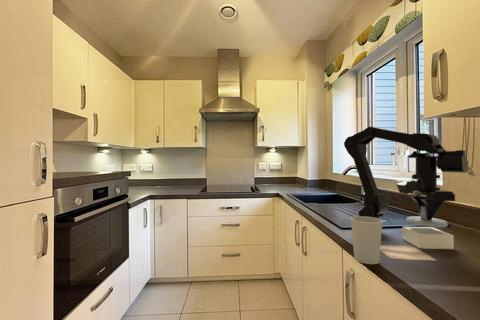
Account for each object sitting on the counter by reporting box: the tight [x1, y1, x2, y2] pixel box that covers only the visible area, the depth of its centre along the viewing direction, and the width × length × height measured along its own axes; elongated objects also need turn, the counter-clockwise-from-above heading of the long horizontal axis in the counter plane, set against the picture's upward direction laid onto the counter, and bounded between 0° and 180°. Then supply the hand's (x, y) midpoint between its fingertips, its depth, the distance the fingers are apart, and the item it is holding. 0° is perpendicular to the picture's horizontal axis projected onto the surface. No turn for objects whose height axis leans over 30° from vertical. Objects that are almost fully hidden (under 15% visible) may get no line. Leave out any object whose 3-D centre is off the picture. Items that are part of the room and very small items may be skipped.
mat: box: [380, 244, 438, 262], centre depth 78 cm, size 12×12×1 cm
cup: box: [350, 216, 384, 265], centre depth 72 cm, size 8×8×12 cm
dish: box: [402, 226, 455, 250], centre depth 85 cm, size 10×10×5 cm
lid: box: [406, 206, 448, 228], centre depth 86 cm, size 11×11×6 cm
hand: (425, 218), depth 86 cm, fingers closed on lid, 3 cm apart
